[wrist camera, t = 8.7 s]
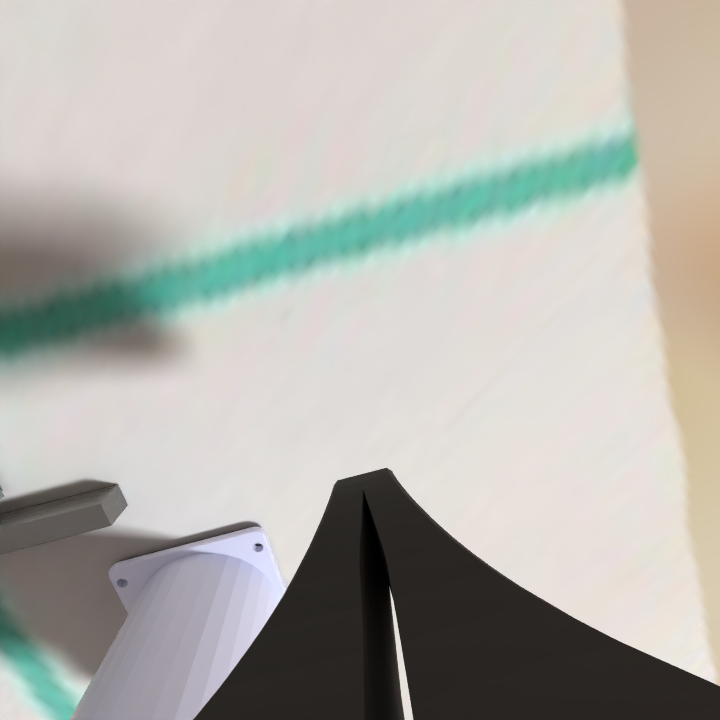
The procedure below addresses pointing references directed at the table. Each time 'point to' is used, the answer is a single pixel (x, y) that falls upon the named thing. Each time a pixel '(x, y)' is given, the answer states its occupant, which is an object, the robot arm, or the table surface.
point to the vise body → (60, 518)
